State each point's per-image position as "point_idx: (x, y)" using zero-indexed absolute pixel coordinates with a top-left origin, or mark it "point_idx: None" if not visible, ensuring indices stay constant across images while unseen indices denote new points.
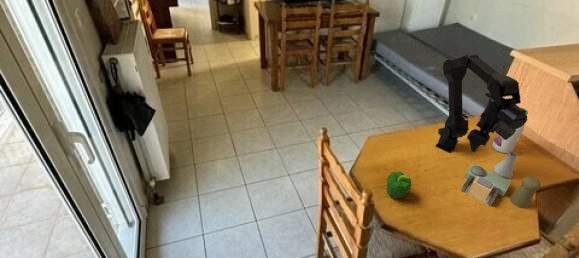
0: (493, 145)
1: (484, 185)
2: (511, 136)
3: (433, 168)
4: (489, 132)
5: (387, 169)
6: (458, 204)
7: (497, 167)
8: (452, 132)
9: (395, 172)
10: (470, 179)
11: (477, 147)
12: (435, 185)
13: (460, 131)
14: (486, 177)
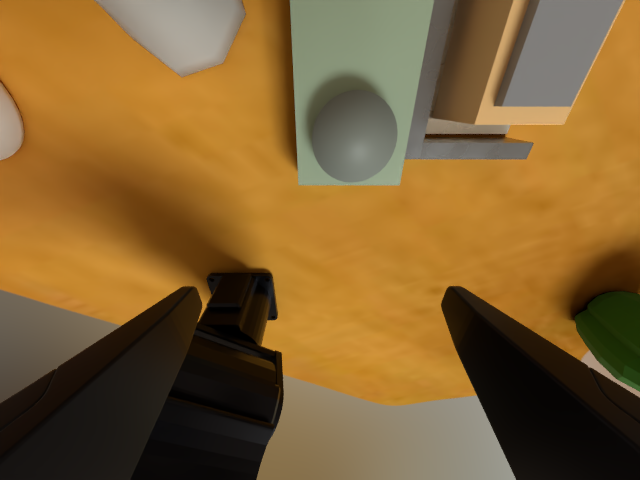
0: (6, 150)
1: (606, 27)
2: None
3: (407, 278)
4: (26, 451)
5: None
6: (613, 121)
7: (198, 38)
8: (275, 412)
9: (637, 389)
10: (447, 145)
11: (596, 381)
12: (508, 240)
13: (223, 399)
14: (371, 67)
